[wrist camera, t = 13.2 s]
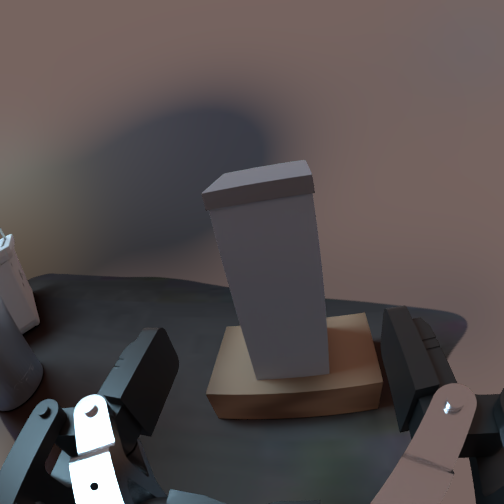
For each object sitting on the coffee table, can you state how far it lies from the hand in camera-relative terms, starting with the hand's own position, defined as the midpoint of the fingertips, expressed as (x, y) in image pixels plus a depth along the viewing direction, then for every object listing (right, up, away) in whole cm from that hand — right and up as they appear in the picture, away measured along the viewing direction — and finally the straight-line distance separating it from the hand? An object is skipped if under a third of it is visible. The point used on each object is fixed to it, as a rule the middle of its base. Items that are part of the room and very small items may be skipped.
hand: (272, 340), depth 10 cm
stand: (+3, -6, +10) cm, 12 cm away
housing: (+2, -4, +9) cm, 10 cm away
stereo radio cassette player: (-42, -8, +29) cm, 51 cm away
